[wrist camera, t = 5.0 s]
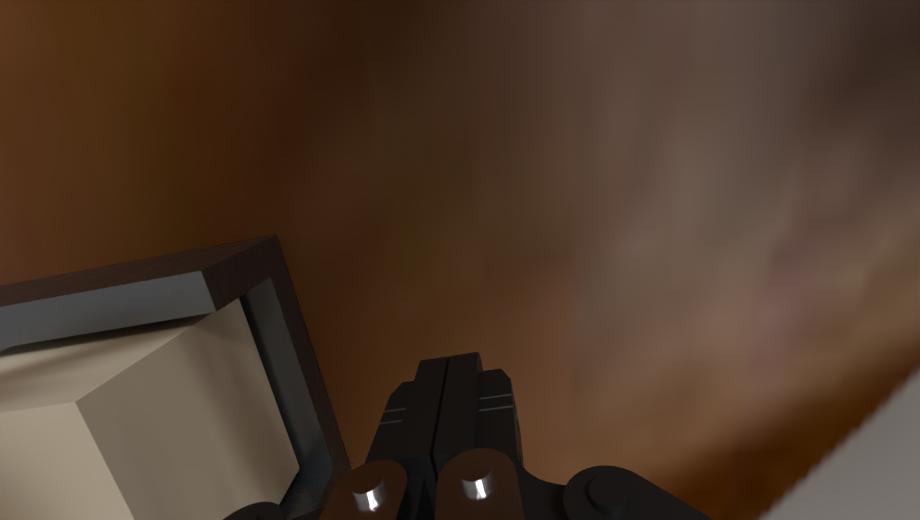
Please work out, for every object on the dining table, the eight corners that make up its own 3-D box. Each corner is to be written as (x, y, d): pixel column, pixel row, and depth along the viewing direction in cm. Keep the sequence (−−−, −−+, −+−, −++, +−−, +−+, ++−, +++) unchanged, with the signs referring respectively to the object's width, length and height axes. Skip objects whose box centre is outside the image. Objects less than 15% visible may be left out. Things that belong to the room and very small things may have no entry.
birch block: (237, 296, 12) (74, 401, 7) (299, 467, 14) (198, 646, 9) (53, 327, 13) (-204, 443, 8) (133, 487, 14) (-43, 663, 10)
